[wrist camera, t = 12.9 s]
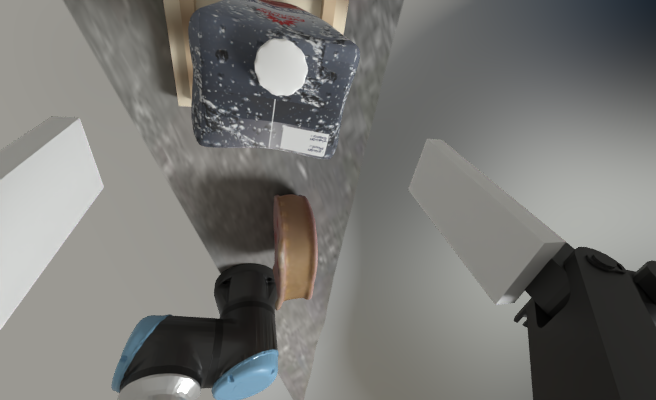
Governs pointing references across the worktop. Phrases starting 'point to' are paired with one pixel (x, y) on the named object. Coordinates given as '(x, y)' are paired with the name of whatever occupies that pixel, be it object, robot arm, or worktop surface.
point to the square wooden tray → (181, 3)
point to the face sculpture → (294, 248)
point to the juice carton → (268, 77)
